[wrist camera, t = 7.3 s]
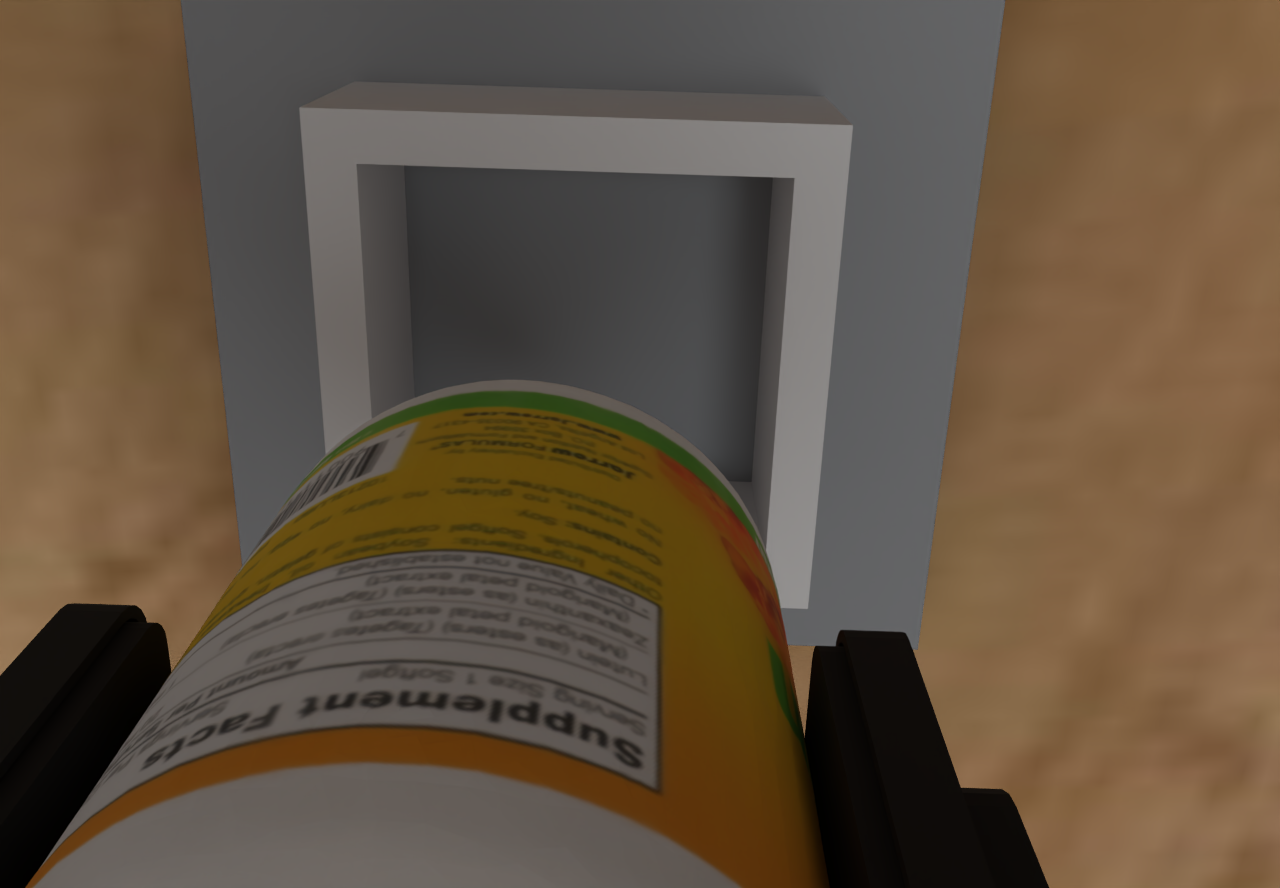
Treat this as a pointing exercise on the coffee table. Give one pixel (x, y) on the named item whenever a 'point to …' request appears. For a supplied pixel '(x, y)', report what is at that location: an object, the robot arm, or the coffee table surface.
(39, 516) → the coffee table surface
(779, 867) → the supplement bottle
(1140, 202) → the coffee table surface
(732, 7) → the bottle holder
